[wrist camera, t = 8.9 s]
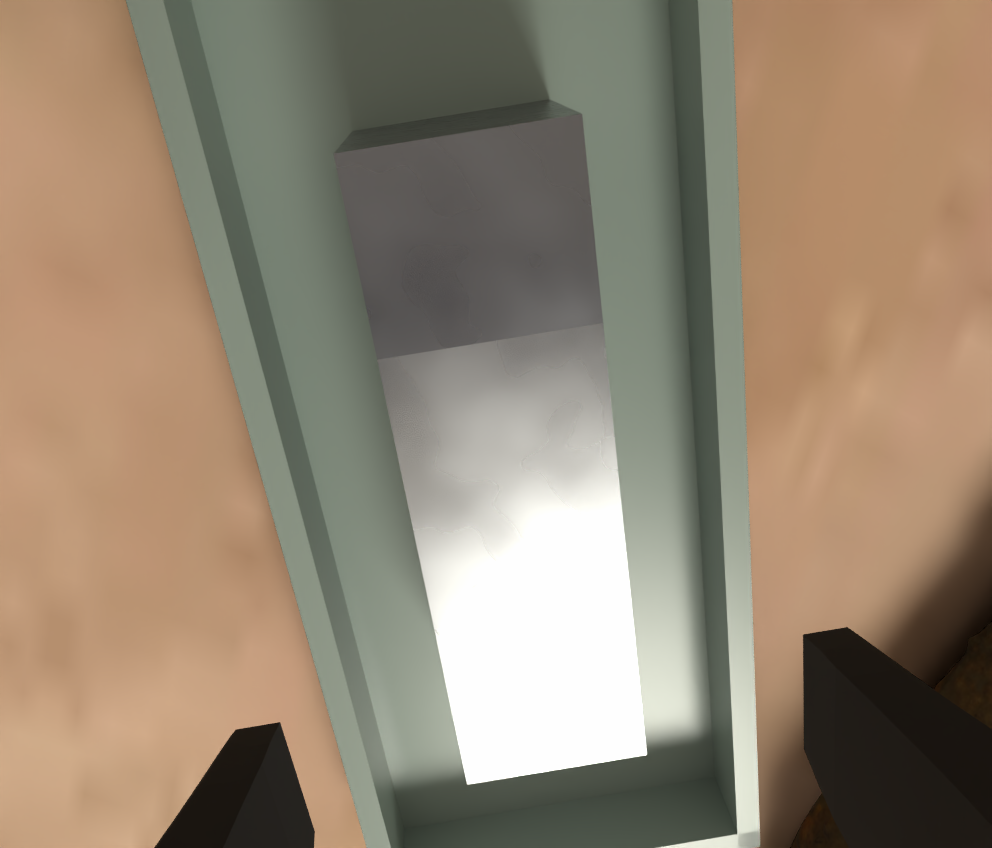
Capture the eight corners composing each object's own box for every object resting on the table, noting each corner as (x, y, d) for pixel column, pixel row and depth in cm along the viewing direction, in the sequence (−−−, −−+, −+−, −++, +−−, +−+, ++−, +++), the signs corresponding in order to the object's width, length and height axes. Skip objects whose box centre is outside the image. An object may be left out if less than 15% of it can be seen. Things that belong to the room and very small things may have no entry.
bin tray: (388, 832, 26) (384, 909, 24) (133, -117, 16) (84, -144, 14) (730, 775, 26) (760, 846, 24) (682, -204, 16) (723, -244, 14)
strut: (460, 666, 23) (467, 784, 19) (352, 130, 18) (333, 153, 14) (611, 642, 23) (646, 755, 19) (549, 99, 18) (582, 113, 14)
